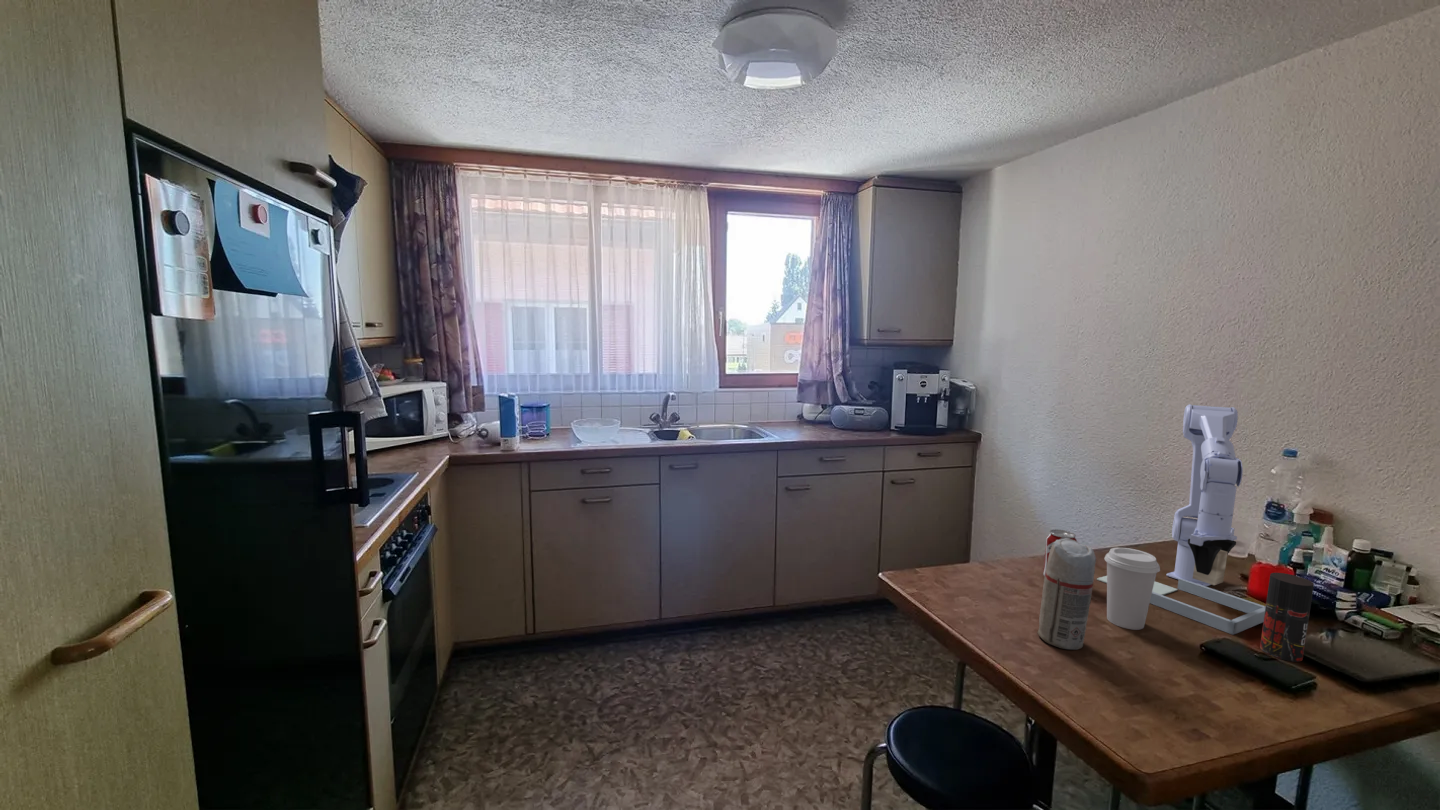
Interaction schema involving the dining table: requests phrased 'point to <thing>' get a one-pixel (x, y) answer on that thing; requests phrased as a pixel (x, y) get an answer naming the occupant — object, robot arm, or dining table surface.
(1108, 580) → the coffee cup
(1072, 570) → the spray can
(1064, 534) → the soda can
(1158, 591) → the pad
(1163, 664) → the dining table surface
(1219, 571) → the block
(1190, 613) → the frame
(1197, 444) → the robot arm
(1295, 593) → the deodorant
